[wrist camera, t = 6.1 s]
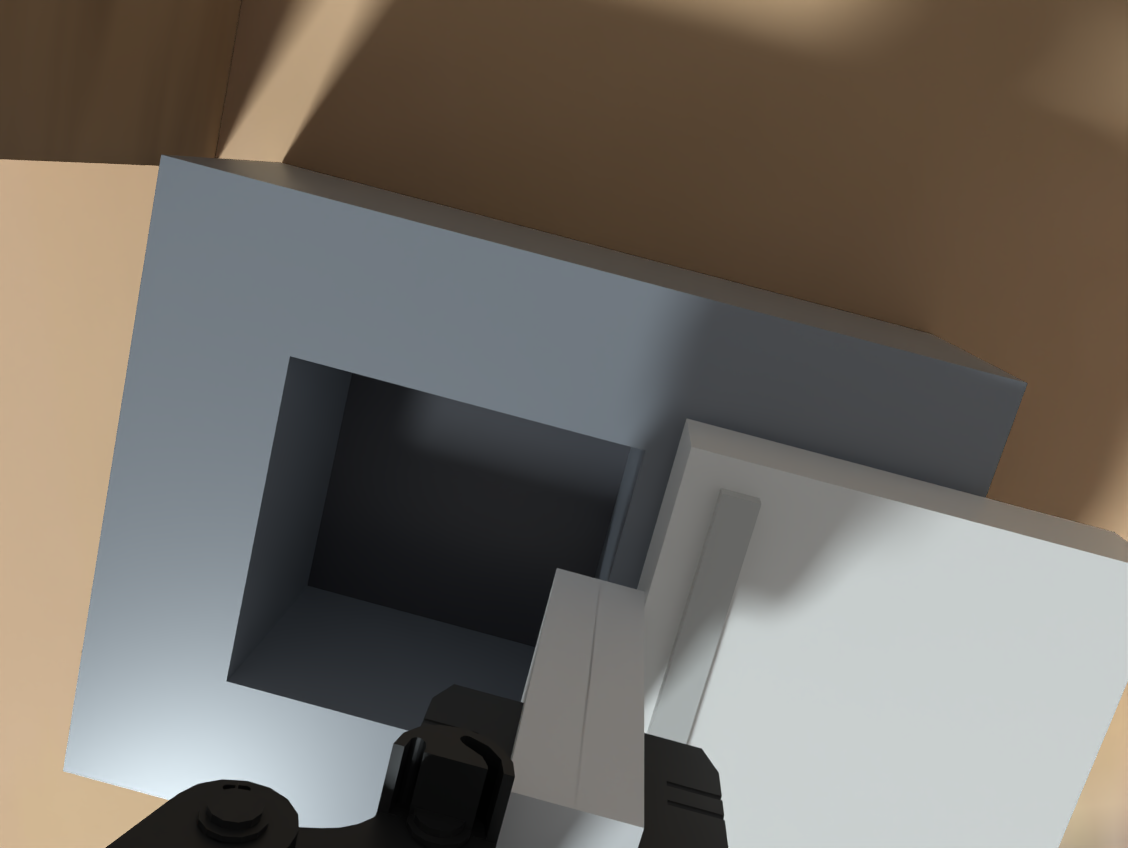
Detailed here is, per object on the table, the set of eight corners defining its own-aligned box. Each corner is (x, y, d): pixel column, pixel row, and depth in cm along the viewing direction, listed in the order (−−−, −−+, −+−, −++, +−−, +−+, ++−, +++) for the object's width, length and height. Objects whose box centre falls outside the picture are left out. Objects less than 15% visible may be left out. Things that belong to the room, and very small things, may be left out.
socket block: (191, 641, 26) (63, 771, 21) (281, 162, 24) (160, 154, 18) (773, 799, 26) (810, 975, 20) (931, 334, 23) (1027, 383, 18)
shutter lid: (569, 824, 20) (558, 905, 17) (686, 418, 18) (692, 451, 16) (955, 929, 20) (995, 1024, 17) (1113, 532, 18) (1181, 581, 15)
